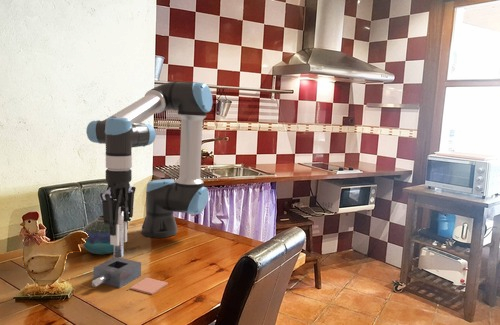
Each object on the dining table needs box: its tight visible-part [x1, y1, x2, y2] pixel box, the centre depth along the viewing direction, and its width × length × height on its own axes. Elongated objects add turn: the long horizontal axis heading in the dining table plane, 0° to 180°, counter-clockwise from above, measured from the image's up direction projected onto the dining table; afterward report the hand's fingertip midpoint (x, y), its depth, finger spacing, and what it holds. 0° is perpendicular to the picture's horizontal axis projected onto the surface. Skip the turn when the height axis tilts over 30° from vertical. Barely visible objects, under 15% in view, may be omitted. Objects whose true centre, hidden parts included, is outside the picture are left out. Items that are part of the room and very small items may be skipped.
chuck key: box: [113, 205, 128, 258], centre depth 122 cm, size 6×3×16 cm, turn 68°
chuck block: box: [91, 257, 142, 289], centre depth 121 cm, size 15×10×4 cm, turn 158°
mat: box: [129, 277, 169, 296], centre depth 119 cm, size 8×8×1 cm
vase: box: [82, 214, 114, 256], centre depth 145 cm, size 15×15×13 cm
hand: (118, 242), depth 123 cm, fingers closed on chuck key, 3 cm apart
